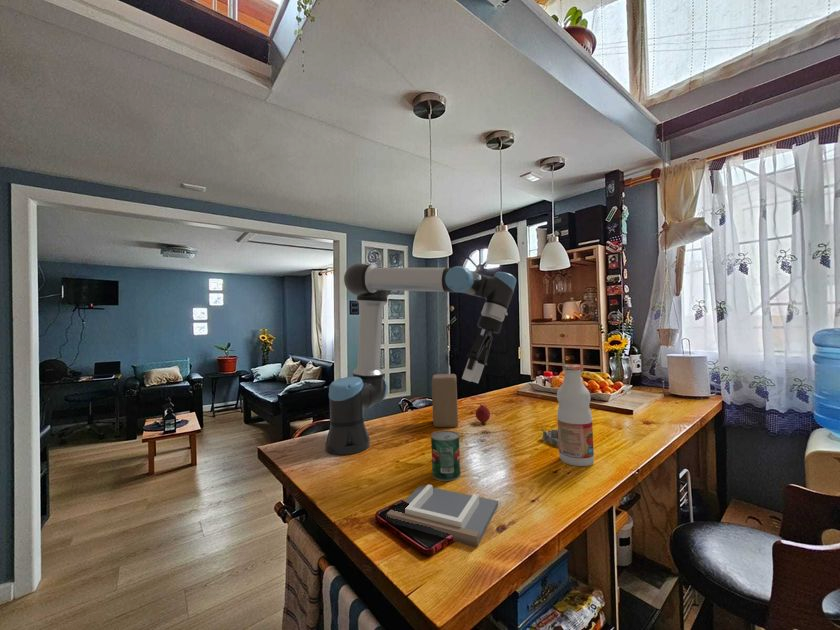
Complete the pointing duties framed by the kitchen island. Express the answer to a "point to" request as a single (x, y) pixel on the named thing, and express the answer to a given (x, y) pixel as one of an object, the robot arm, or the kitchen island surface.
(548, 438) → the egg carton
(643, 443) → the kitchen island surface
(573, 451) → the fruit juice
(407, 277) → the robot arm
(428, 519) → the board
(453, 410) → the wooden block
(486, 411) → the onion
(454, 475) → the canned tomato
